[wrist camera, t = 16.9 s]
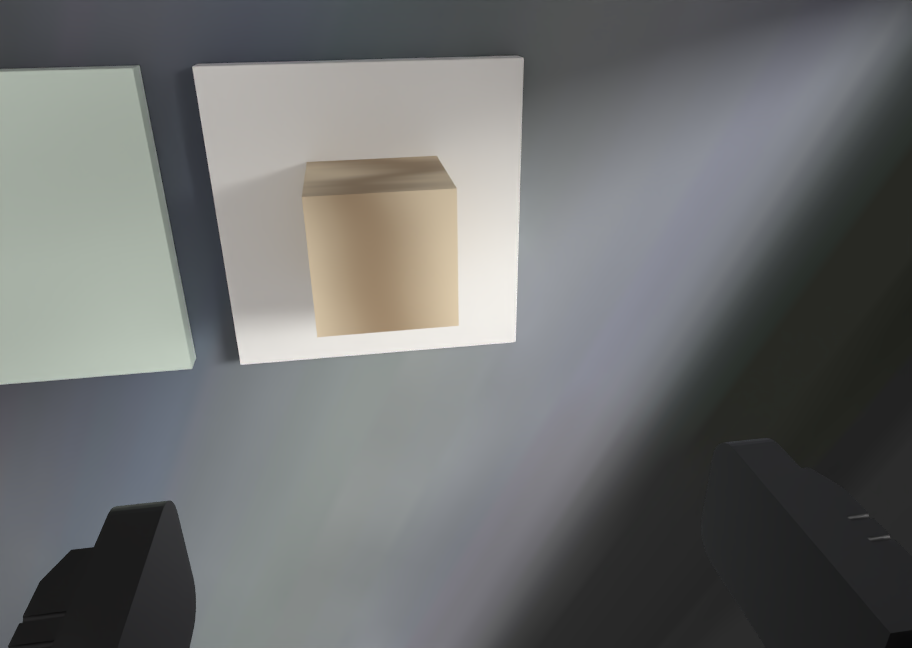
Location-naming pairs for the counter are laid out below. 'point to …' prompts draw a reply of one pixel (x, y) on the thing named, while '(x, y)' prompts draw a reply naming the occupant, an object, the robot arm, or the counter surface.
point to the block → (381, 244)
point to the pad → (352, 138)
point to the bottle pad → (84, 230)
